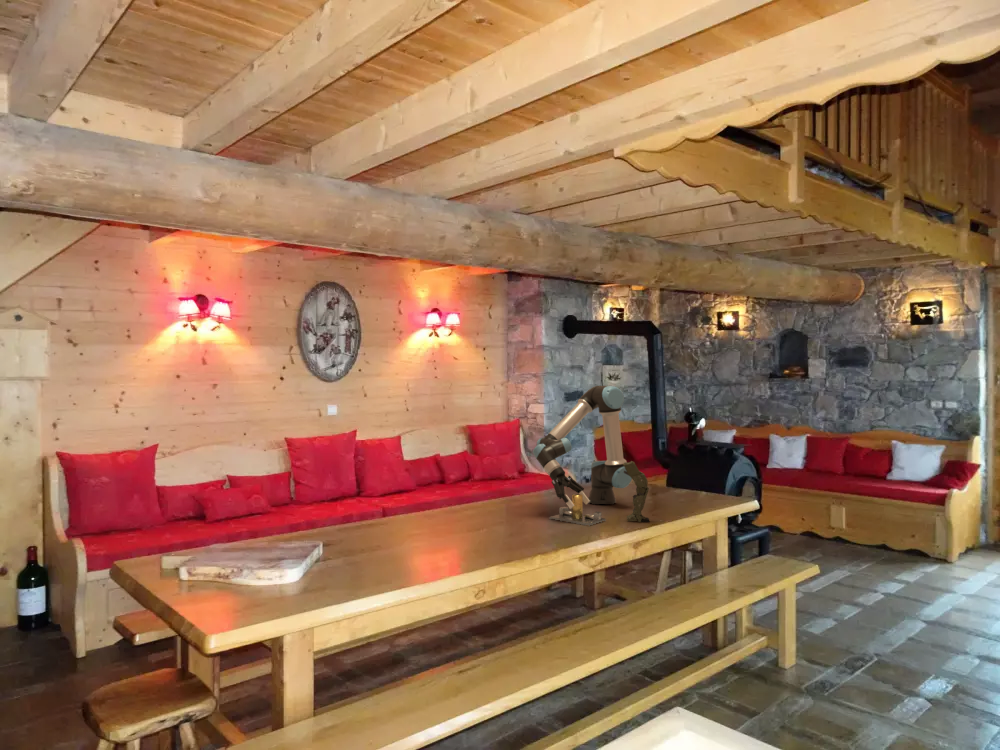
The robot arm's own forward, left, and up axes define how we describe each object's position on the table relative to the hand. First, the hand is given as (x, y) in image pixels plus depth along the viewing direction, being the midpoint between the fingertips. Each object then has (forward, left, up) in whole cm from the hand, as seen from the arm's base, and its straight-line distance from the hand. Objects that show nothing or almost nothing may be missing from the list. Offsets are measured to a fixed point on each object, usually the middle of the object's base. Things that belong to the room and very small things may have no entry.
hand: (580, 505), depth 343 cm
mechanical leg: (-21, +17, -8) cm, 28 cm away
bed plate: (0, -2, -8) cm, 8 cm away
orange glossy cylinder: (0, -2, -6) cm, 7 cm away
